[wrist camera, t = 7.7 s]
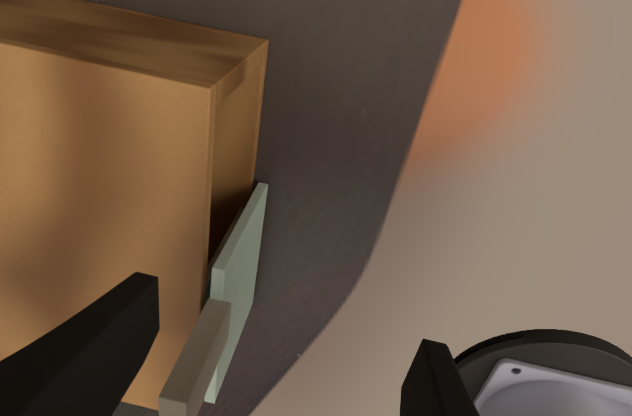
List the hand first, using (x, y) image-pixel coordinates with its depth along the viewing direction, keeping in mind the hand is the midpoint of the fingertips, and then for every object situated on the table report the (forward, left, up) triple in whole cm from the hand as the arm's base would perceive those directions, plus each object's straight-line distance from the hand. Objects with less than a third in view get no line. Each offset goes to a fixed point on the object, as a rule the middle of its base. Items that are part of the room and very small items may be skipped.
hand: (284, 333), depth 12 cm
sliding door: (+3, +5, -10) cm, 12 cm away
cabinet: (+9, +3, -10) cm, 14 cm away
